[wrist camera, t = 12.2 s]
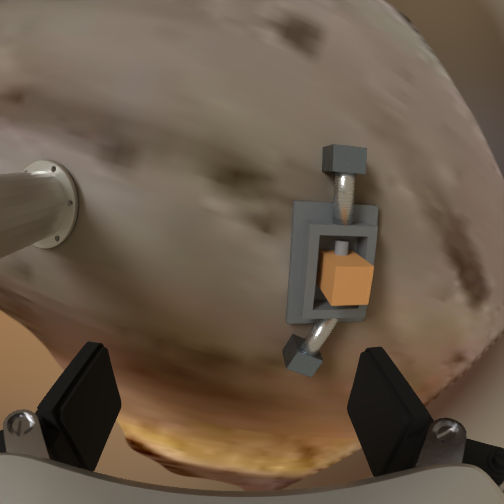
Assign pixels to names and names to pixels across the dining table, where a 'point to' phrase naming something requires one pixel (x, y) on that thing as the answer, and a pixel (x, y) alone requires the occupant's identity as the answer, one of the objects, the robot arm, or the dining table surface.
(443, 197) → the dining table surface
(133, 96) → the dining table surface
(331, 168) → the straight shaft
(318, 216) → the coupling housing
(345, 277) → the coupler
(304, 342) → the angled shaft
